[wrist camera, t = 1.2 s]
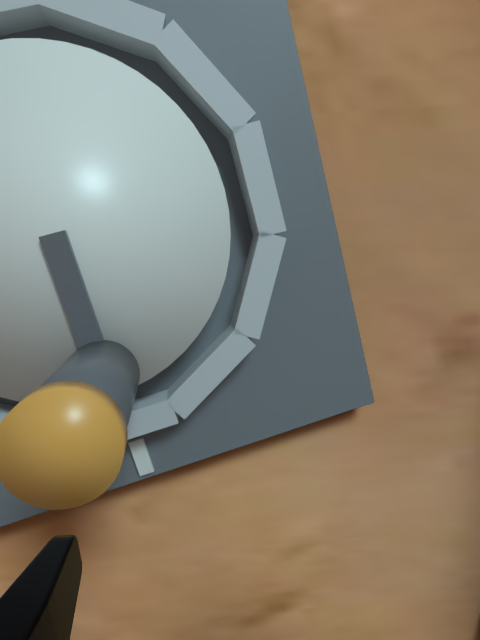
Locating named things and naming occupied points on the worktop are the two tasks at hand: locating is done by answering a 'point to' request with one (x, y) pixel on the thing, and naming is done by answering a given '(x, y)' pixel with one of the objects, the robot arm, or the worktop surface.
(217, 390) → the dial plate
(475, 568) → the worktop surface
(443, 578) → the worktop surface
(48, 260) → the dial knob
